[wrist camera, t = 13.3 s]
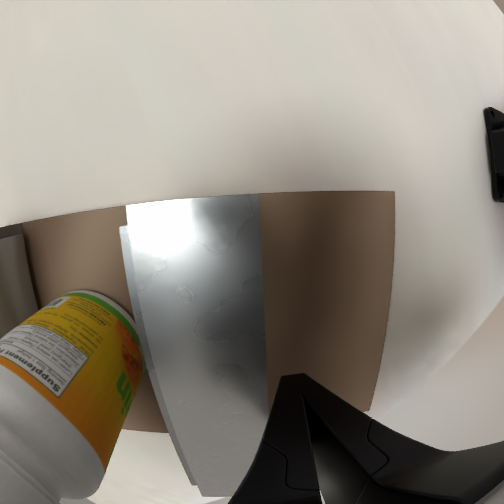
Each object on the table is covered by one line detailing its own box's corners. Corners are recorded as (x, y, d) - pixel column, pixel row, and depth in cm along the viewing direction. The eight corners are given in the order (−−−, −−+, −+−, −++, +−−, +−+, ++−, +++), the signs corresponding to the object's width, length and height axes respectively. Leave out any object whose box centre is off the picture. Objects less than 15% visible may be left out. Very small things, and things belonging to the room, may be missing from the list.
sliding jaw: (247, 194, 10) (258, 193, 6) (262, 434, 12) (271, 493, 8) (154, 202, 10) (110, 207, 6) (198, 437, 12) (193, 496, 8)
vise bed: (378, 191, 12) (458, 194, 7) (360, 395, 14) (397, 456, 9) (5, 226, 11) (-62, 244, 5) (59, 401, 13) (25, 452, 8)
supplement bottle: (139, 401, 12) (86, 564, 2) (51, 358, 11) (-45, 477, 1) (162, 316, 11) (63, 540, 1) (57, 268, 10) (-110, 373, 1)
